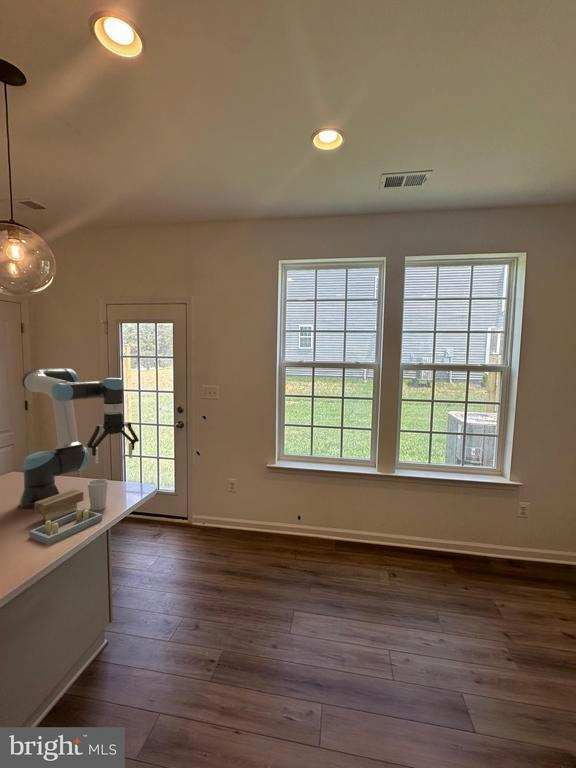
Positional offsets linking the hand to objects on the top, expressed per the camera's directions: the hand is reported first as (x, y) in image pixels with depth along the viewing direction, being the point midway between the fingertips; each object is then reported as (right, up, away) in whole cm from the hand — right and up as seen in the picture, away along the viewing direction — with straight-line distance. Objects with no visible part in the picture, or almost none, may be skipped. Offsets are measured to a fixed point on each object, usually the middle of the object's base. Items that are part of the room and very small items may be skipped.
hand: (114, 459), depth 144 cm
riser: (-23, -24, -2) cm, 33 cm away
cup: (-10, -23, +5) cm, 26 cm away
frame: (-11, -24, -14) cm, 30 cm away
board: (-22, -20, -2) cm, 30 cm away
